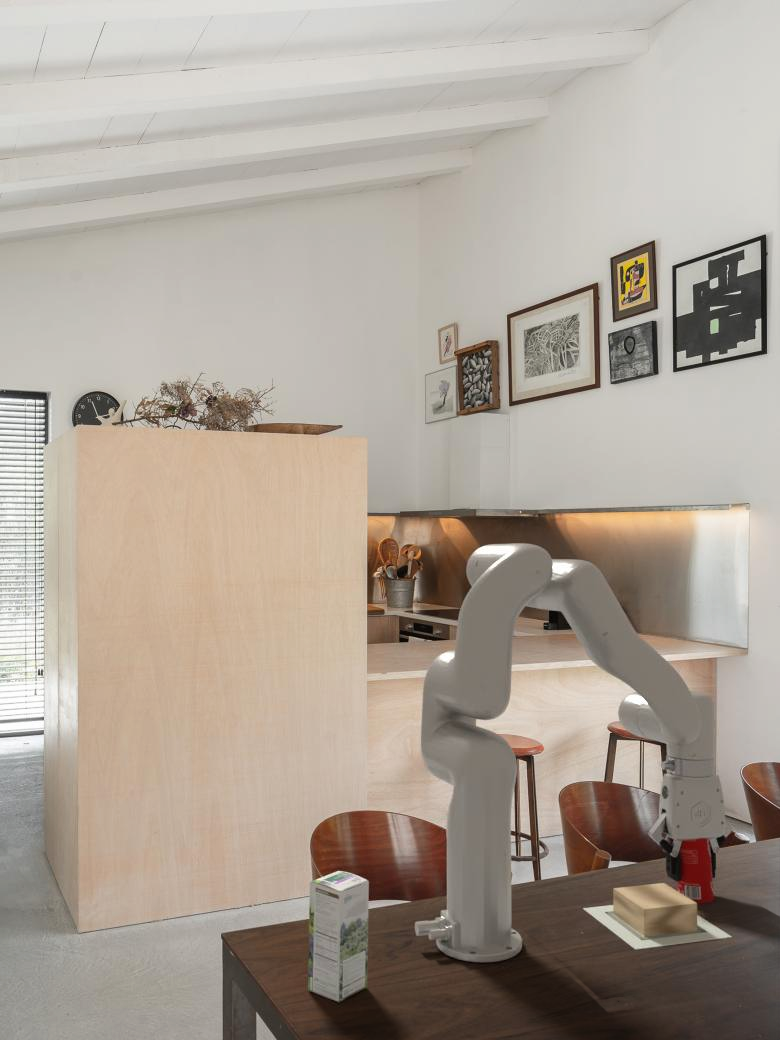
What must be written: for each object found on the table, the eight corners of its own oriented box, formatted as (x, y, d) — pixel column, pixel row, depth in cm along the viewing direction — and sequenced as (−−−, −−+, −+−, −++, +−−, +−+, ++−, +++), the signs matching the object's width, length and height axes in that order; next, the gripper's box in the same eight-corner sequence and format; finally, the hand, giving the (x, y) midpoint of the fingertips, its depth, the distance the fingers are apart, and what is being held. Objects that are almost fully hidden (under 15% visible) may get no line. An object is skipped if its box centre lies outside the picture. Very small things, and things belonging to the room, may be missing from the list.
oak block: (644, 936, 138) (643, 909, 138) (613, 914, 147) (613, 888, 147) (697, 930, 140) (697, 903, 141) (664, 908, 149) (663, 882, 149)
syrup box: (336, 975, 128) (336, 868, 128) (369, 988, 124) (369, 877, 125) (307, 990, 123) (307, 879, 124) (340, 1004, 120) (340, 889, 120)
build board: (635, 957, 134) (635, 948, 134) (582, 915, 149) (582, 907, 149) (732, 945, 138) (731, 936, 138) (671, 905, 153) (671, 897, 153)
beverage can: (718, 910, 151) (718, 816, 152) (678, 909, 152) (678, 816, 152) (707, 896, 157) (706, 806, 158) (668, 896, 157) (667, 806, 158)
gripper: (656, 775, 149) (657, 889, 149) (749, 768, 154) (750, 880, 153) (632, 764, 156) (632, 874, 156) (721, 759, 161) (722, 865, 160)
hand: (691, 876), depth 154 cm, fingers closed on beverage can, 5 cm apart
